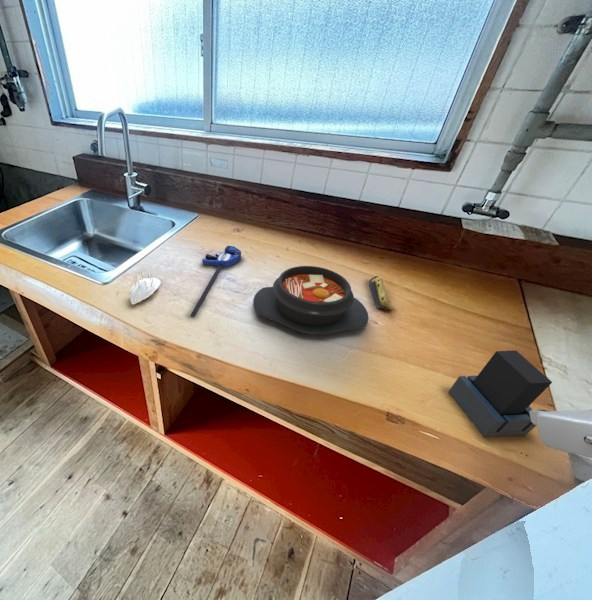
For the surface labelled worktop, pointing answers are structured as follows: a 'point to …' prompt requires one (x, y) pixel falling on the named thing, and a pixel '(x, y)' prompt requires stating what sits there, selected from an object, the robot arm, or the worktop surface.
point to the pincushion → (143, 289)
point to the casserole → (311, 302)
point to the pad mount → (488, 411)
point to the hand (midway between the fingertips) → (573, 414)
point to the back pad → (510, 382)
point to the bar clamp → (219, 267)
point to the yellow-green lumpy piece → (379, 293)
